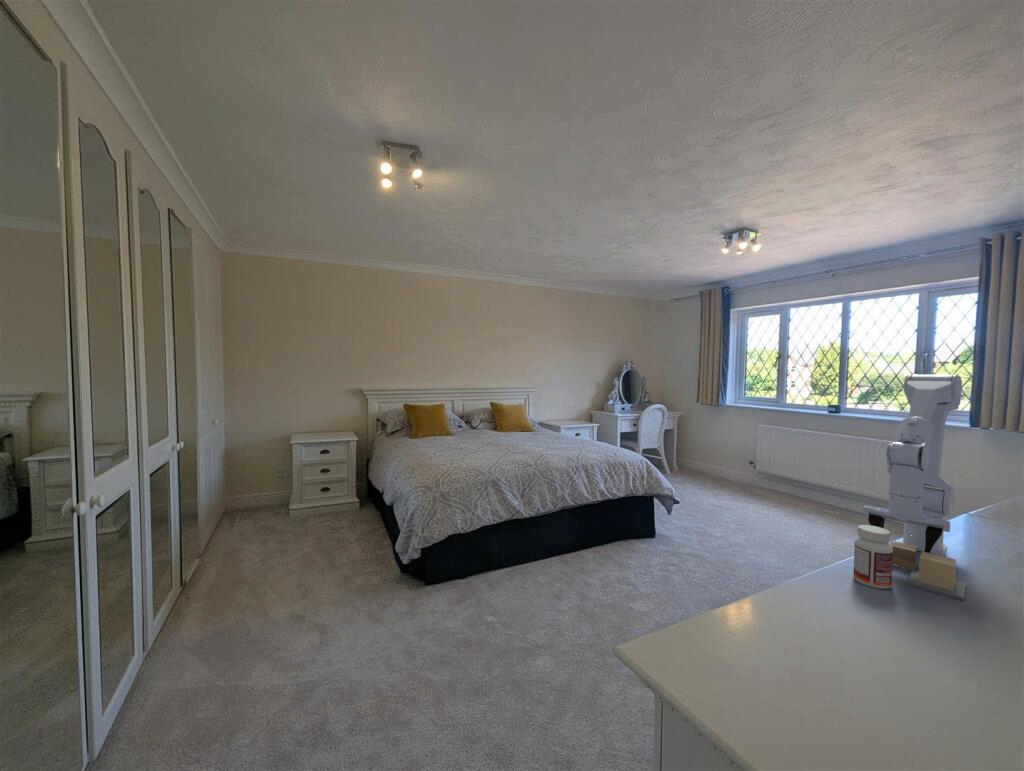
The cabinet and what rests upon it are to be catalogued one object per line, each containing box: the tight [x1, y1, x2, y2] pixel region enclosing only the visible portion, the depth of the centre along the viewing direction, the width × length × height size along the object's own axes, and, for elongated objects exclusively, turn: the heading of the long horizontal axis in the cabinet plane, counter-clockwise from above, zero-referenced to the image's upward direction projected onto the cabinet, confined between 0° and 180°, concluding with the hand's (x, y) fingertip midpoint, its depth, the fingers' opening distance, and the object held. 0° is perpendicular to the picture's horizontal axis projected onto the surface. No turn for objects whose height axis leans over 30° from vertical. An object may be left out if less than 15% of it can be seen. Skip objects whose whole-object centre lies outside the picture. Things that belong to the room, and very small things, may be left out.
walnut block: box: [889, 540, 918, 571], centre depth 97 cm, size 4×4×4 cm
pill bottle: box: [853, 524, 894, 590], centre depth 88 cm, size 6×6×11 cm
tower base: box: [906, 551, 967, 601], centre depth 88 cm, size 9×8×6 cm
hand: (902, 553), depth 97 cm, fingers open, 7 cm apart
